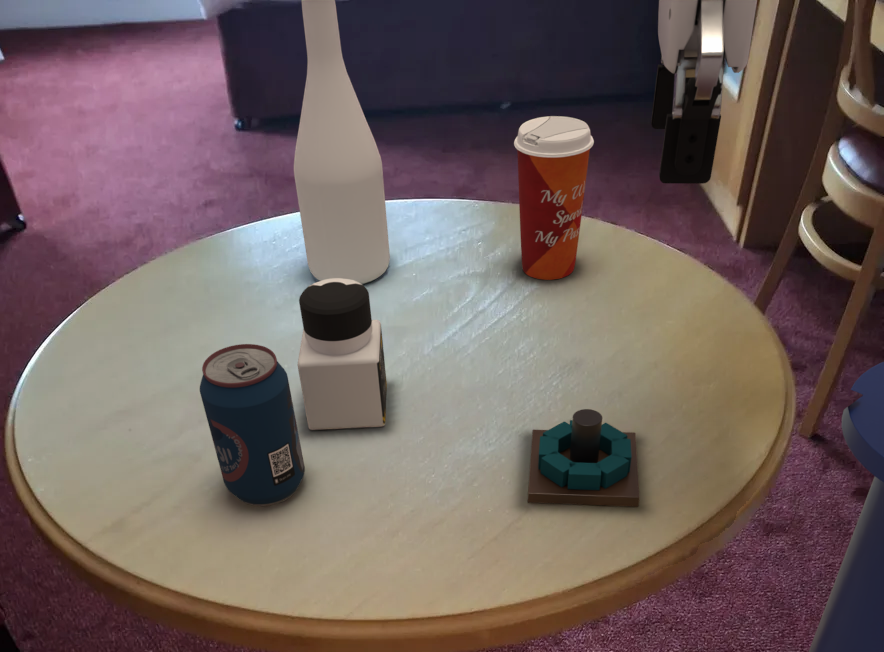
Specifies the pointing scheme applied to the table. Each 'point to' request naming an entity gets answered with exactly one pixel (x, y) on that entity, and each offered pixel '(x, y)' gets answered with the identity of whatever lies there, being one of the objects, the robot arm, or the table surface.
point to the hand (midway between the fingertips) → (678, 153)
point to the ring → (584, 473)
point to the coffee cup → (551, 192)
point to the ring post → (583, 451)
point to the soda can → (252, 424)
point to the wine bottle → (337, 163)
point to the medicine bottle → (341, 357)
